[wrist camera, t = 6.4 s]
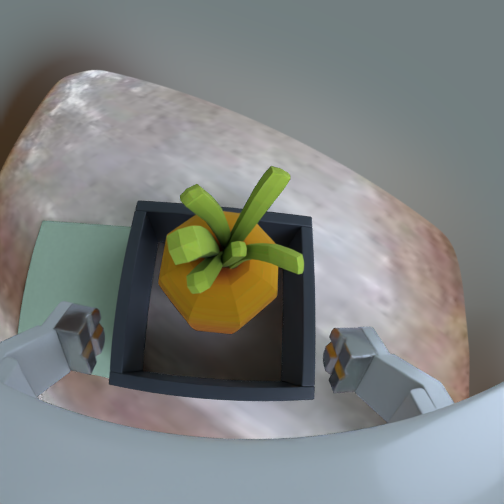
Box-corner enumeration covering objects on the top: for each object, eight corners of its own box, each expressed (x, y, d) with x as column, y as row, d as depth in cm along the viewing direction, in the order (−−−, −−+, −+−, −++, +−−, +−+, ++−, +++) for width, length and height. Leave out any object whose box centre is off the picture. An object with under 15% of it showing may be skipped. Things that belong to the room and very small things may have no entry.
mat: (18, 350, 16) (15, 350, 16) (44, 222, 20) (42, 220, 20) (116, 379, 17) (115, 379, 17) (137, 229, 22) (136, 227, 21)
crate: (132, 379, 17) (108, 384, 13) (150, 232, 22) (137, 199, 17) (290, 391, 19) (314, 399, 14) (292, 245, 23) (312, 216, 18)
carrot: (237, 271, 21) (284, 116, 8) (258, 333, 20) (362, 268, 6) (174, 288, 20) (115, 147, 6) (193, 352, 19) (144, 336, 5)
